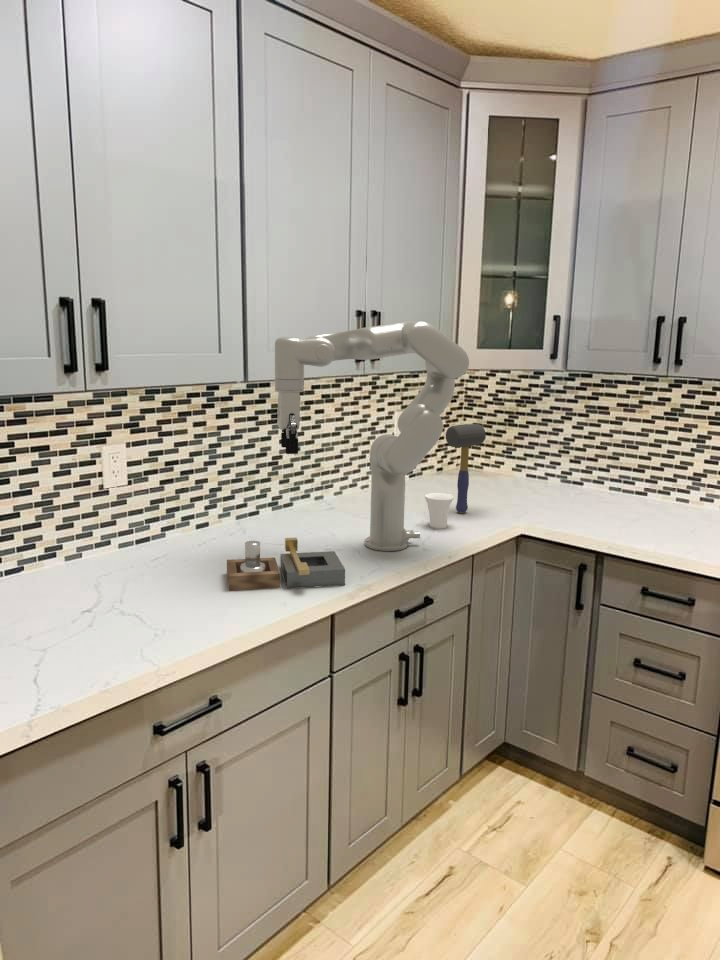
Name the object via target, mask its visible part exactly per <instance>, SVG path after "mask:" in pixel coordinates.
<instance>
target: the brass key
mask: <svg viewBox="0 0 720 960" xmlns="http://www.w3.org/2000/svg"><path fill="white" fill-rule="evenodd" d="M298 543H299V542H298V537H285V538H284V550H285V552H289V553H290V554H291V557H292V559H293V562H294V564H295V567H296V569H297V572H298V574H299V575H309V574H310V569H309V567H308V565H307V563H306V562H302V563H301V562H300V559H299V557H298V555H297V553H298V547H299V546H298Z"/></svg>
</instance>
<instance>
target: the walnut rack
mask: <svg viewBox="0 0 720 960" xmlns="http://www.w3.org/2000/svg"><path fill="white" fill-rule="evenodd" d="M260 562H262V563H264V564H265V572H247V573H240V565H241V564H242V563H245V558H237V559H236V558H235V559H226V577H227V584H228V591H229V592H230V591H231V592H232V591H244V590H245V591H246V590H247V591H248V590H261V589H262V590H264V589H275V588H276V589H277V588H281V570H280V569H279V568H280V567H279V566H278V562H277V559H276V556H275V557H273V556H272V557H271V556H270V557H260Z"/></svg>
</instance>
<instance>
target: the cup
mask: <svg viewBox="0 0 720 960" xmlns="http://www.w3.org/2000/svg"><path fill="white" fill-rule="evenodd" d="M424 498H425V502H426V505H427V509H428V514H429V524H428V525H429V527H430V528H431V529H437V530H439V529H440V530H441V529H446V528H447V527H448V516H449V510H450V507H451V504H452V502H453V501H454V494H449V493H443V492H429V493H426V494H425V495H424Z"/></svg>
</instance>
